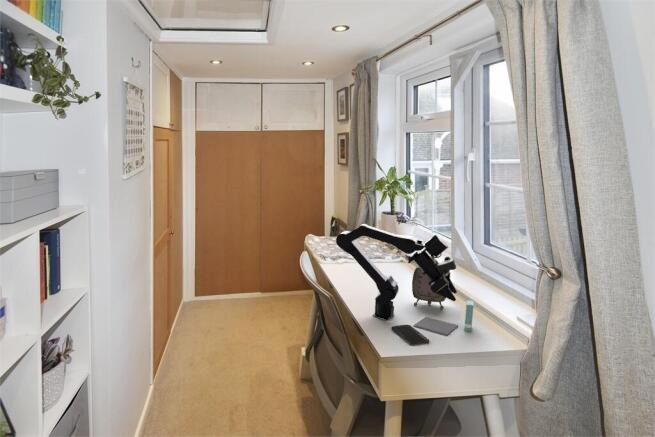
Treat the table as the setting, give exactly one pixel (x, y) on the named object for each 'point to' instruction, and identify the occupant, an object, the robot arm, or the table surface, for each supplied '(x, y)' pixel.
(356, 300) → the table surface
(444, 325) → the felt mat
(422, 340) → the phone
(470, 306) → the box
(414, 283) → the tabletop clock
